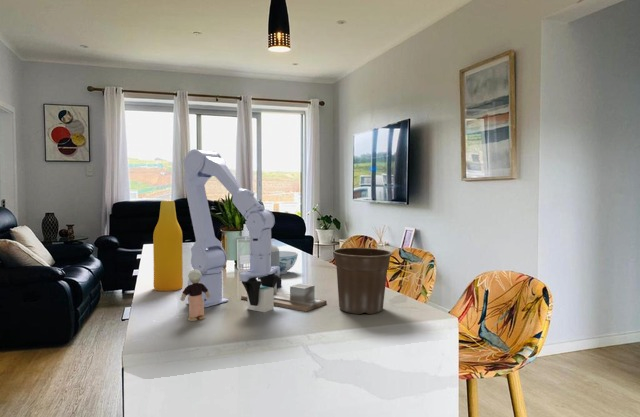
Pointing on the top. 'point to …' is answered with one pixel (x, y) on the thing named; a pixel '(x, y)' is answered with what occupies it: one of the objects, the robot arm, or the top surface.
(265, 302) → the block
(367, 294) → the plant pot
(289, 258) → the chinaware
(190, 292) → the grandmother figurine
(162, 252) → the beer bottle
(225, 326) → the top surface
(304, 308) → the board
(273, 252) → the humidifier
